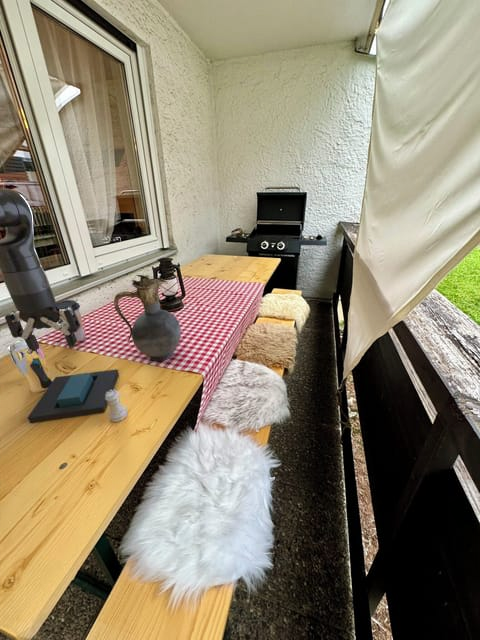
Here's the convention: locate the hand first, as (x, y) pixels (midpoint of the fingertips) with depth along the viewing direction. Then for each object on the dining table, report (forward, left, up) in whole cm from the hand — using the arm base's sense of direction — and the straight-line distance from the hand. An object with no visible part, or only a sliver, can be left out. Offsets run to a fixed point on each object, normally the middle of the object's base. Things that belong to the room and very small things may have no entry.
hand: (54, 347), depth 66 cm
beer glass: (-12, +8, -17) cm, 22 cm away
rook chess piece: (+14, -9, -17) cm, 24 cm away
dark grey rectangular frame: (+1, +1, -17) cm, 17 cm away
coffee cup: (-12, +36, -17) cm, 41 cm away
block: (+1, +1, -17) cm, 17 cm away
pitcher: (+21, +17, -17) cm, 32 cm away
